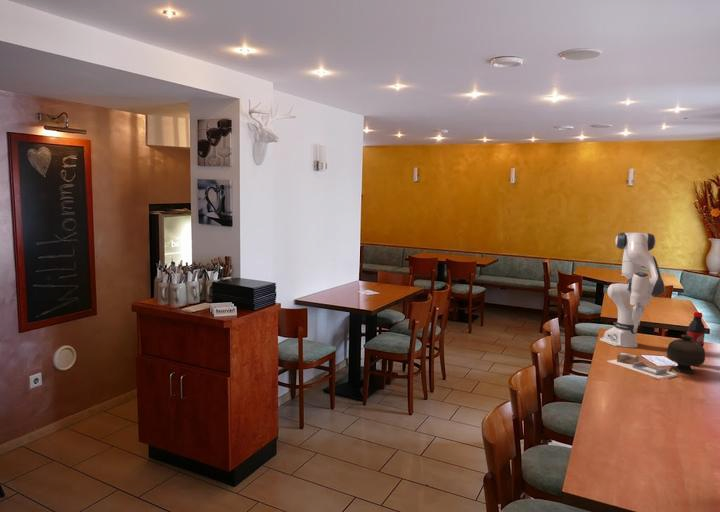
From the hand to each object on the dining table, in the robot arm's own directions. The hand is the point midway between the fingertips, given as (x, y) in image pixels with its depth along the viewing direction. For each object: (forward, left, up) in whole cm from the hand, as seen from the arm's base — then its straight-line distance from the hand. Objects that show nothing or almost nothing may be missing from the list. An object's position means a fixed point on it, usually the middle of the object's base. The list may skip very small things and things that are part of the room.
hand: (636, 326), depth 293 cm
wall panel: (+8, -5, -22) cm, 23 cm away
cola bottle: (+14, +33, -22) cm, 42 cm away
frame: (-1, -4, -20) cm, 21 cm away
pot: (+19, +16, -22) cm, 33 cm away
